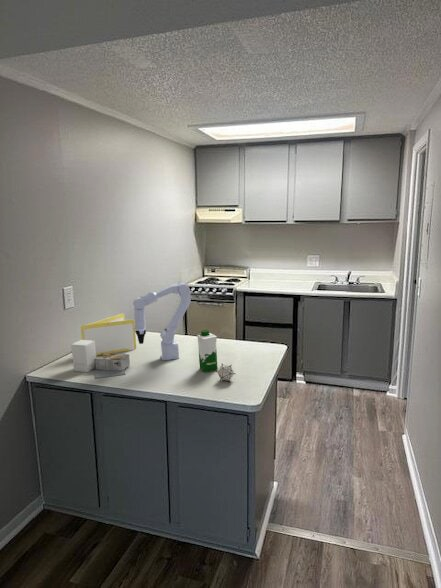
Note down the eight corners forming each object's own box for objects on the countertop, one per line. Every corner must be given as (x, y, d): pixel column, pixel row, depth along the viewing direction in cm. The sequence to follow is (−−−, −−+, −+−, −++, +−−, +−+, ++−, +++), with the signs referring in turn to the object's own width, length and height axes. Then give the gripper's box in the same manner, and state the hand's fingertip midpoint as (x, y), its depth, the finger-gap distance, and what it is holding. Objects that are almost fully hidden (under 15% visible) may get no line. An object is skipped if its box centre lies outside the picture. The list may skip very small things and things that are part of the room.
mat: (123, 365, 227) (123, 364, 227) (125, 374, 214) (125, 373, 214) (95, 369, 223) (95, 368, 223) (95, 378, 210) (95, 377, 210)
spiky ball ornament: (222, 387, 202) (215, 368, 206) (238, 379, 202) (230, 361, 206) (220, 385, 194) (212, 365, 197) (237, 377, 194) (228, 358, 197)
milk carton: (212, 364, 223) (210, 328, 219) (220, 369, 215) (218, 332, 211) (197, 368, 219) (195, 331, 215) (204, 373, 211) (202, 335, 207)
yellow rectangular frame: (122, 340, 274) (119, 311, 271) (147, 345, 264) (145, 315, 260) (80, 357, 245) (77, 325, 241) (107, 362, 234) (104, 329, 230)
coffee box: (130, 365, 226) (103, 363, 230) (129, 354, 225) (102, 352, 229) (122, 371, 217) (94, 369, 221) (121, 359, 216) (93, 358, 220)
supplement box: (97, 366, 228) (95, 340, 225) (87, 372, 219) (84, 345, 216) (84, 365, 231) (81, 339, 228) (73, 371, 222) (70, 344, 219)
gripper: (131, 317, 234) (132, 340, 237) (133, 323, 221) (134, 347, 223) (144, 316, 236) (145, 339, 239) (146, 322, 222) (148, 346, 225)
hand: (141, 343), depth 231 cm, fingers closed
